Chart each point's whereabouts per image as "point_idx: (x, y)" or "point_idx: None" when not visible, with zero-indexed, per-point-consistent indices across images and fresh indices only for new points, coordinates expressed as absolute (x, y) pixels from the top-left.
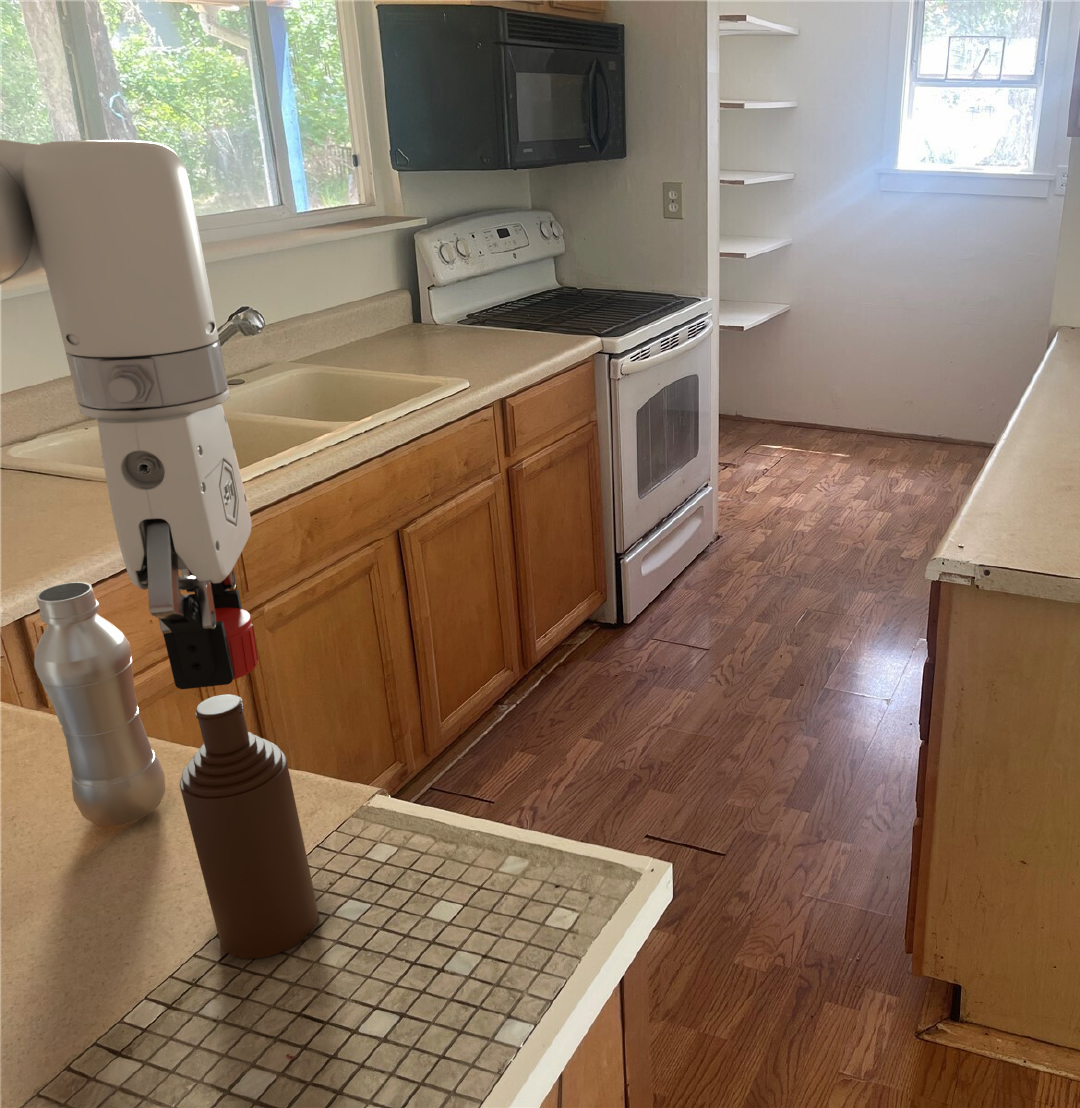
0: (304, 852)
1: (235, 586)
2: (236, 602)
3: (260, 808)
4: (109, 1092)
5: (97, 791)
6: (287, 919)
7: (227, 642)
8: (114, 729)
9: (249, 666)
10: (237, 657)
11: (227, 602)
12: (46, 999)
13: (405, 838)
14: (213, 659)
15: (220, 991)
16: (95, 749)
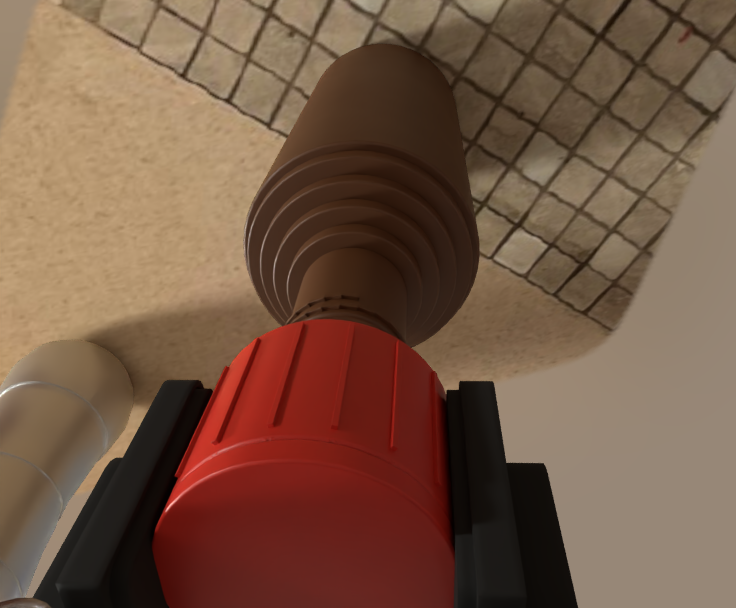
0: (369, 74)
1: (18, 601)
2: (125, 545)
3: (457, 171)
4: (646, 258)
5: (112, 430)
6: (444, 87)
7: (475, 495)
8: (39, 469)
9: (385, 345)
10: (425, 409)
11: (143, 581)
12: (457, 363)
13: None
14: (511, 496)
15: (509, 165)
16: (71, 473)
